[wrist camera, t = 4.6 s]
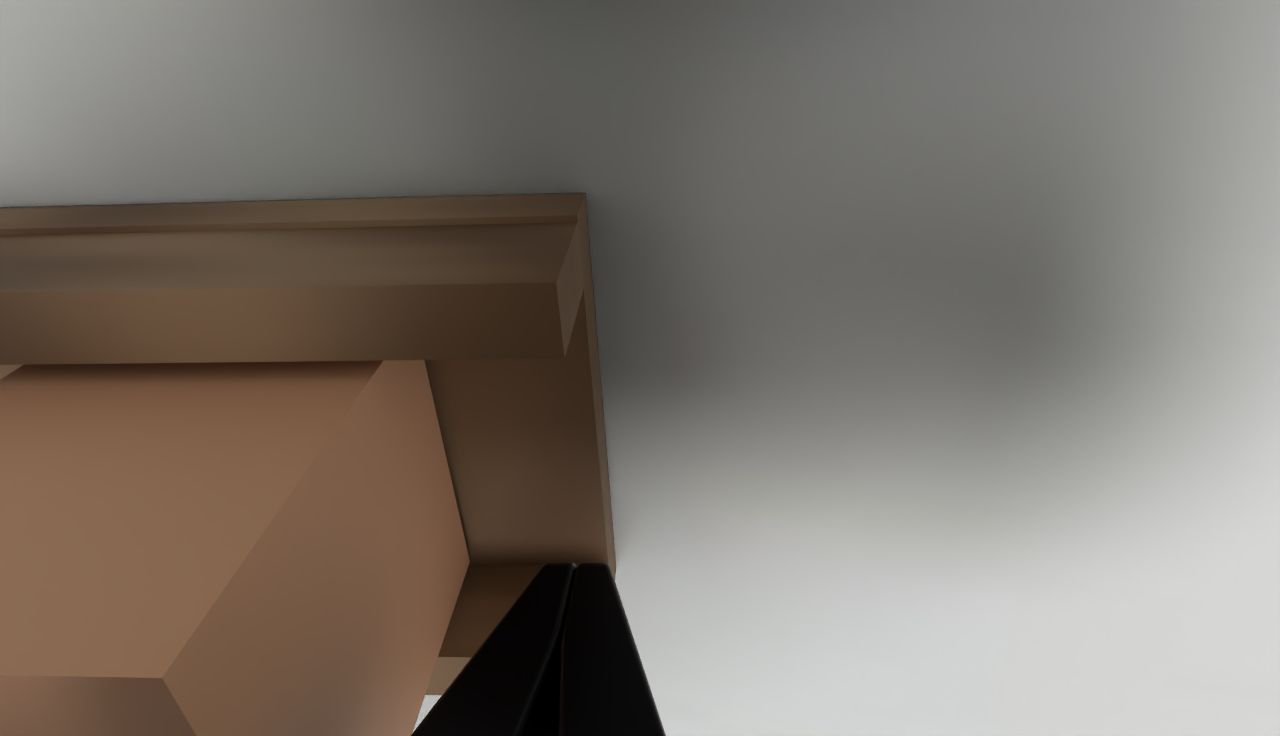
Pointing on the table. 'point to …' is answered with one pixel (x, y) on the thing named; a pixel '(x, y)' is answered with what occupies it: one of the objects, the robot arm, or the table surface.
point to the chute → (362, 339)
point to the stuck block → (223, 548)
